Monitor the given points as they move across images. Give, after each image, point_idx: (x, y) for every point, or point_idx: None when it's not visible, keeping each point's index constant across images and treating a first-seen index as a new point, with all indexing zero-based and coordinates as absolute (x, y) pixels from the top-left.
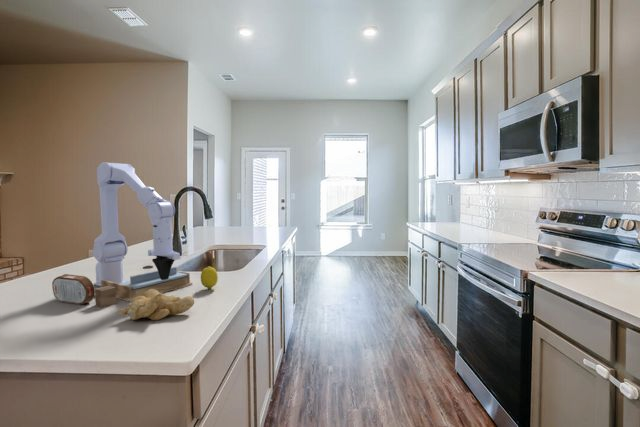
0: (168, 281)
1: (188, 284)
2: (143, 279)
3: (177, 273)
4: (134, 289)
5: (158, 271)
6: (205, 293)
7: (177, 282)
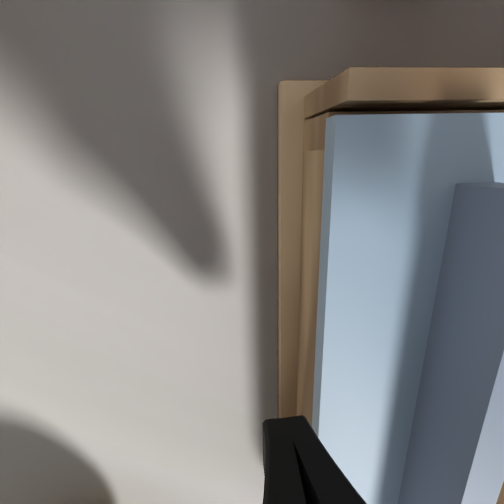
0: None
1: None
2: (452, 313)
3: None
4: None
5: (346, 495)
6: (22, 487)
7: None
